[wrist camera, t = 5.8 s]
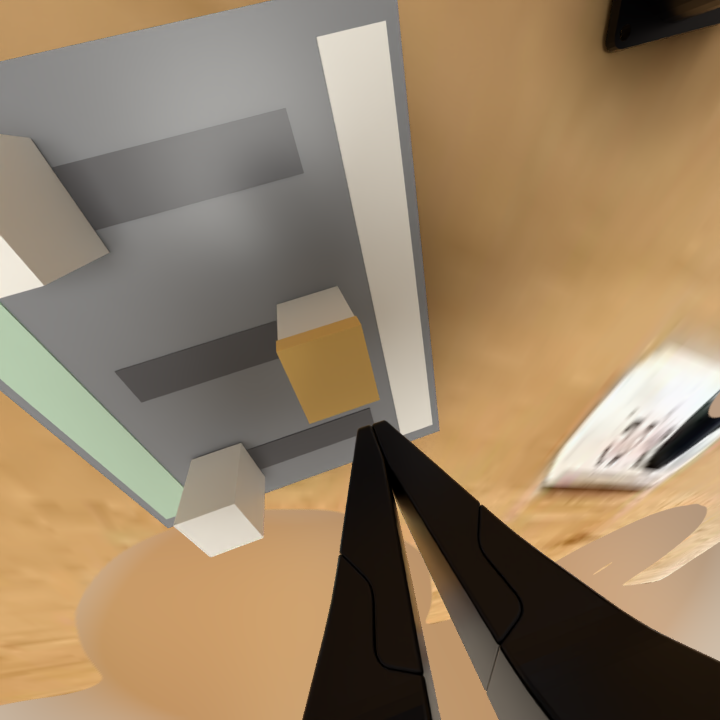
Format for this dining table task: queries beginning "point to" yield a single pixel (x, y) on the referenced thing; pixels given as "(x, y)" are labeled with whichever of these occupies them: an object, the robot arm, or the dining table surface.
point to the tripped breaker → (324, 354)
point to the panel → (220, 239)
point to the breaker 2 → (222, 501)
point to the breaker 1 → (38, 222)
